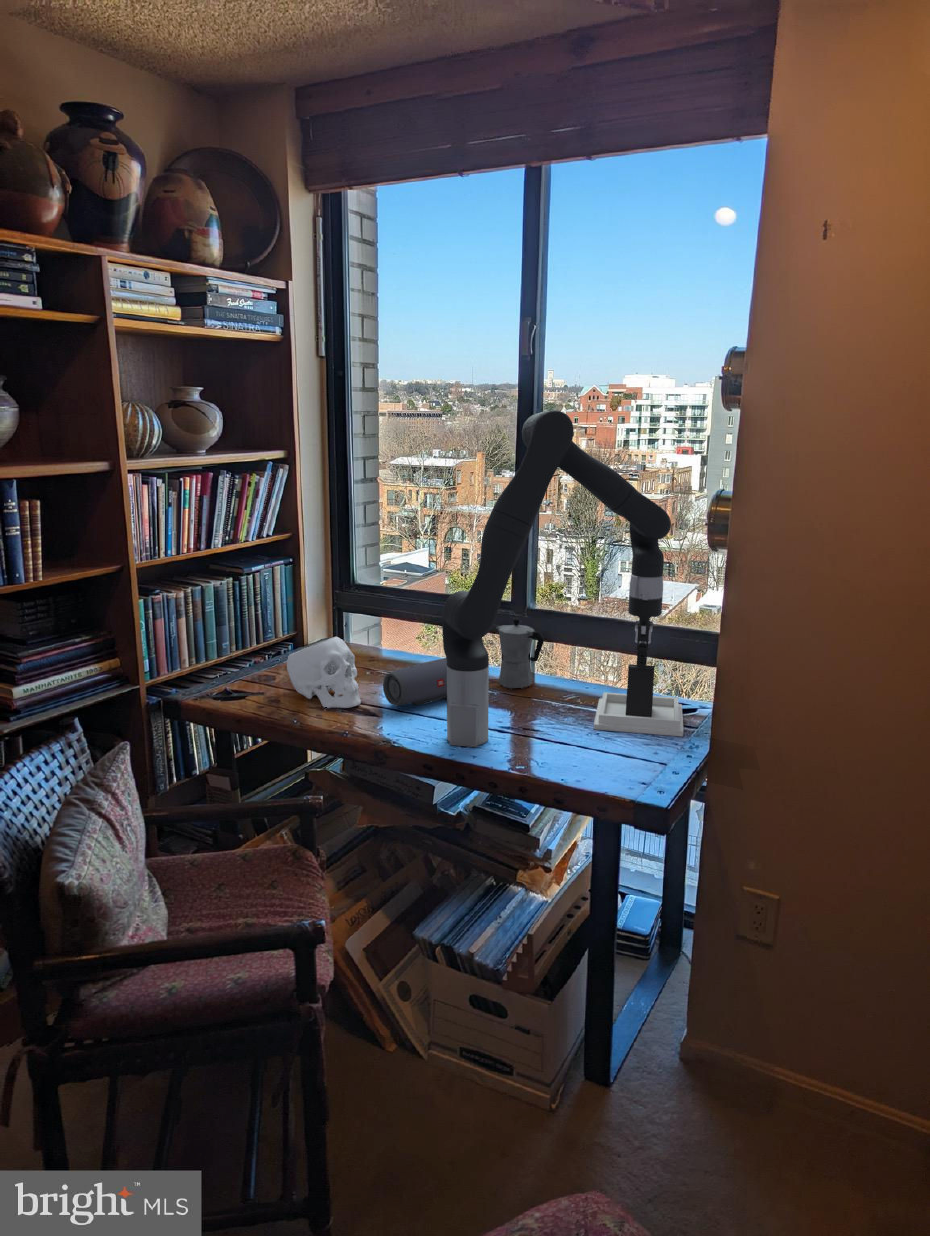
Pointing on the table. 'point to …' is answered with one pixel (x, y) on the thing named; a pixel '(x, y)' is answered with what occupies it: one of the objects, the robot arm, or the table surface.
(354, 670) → the skull planter
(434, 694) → the bluetooth speaker
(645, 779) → the table surface
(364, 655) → the table surface
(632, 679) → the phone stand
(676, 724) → the shallow square tray
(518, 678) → the coffeepot
